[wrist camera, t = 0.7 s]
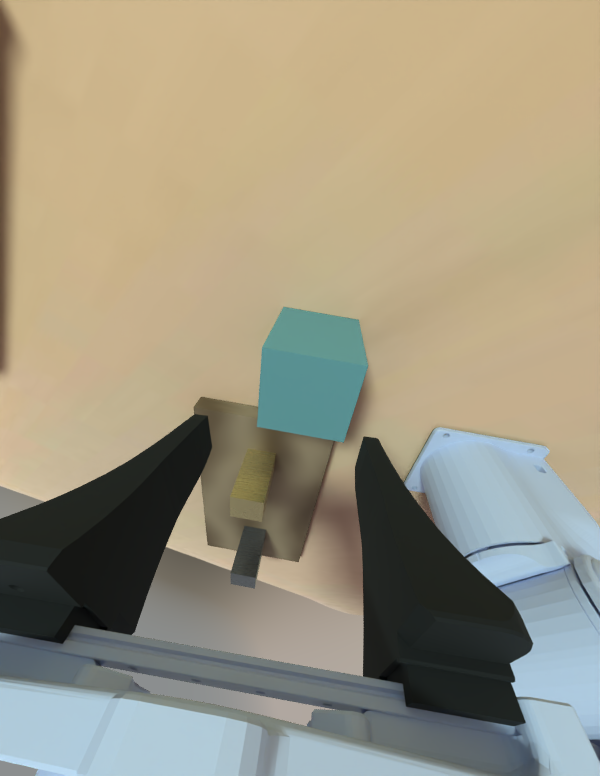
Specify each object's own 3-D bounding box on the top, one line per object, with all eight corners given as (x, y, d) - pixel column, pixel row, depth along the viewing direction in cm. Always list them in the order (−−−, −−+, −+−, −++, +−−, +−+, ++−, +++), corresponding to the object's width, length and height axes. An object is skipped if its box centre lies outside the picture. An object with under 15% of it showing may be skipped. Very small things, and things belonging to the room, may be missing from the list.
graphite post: (266, 529, 32) (255, 577, 28) (264, 540, 33) (254, 588, 29) (244, 525, 32) (230, 573, 28) (243, 537, 33) (230, 583, 29)
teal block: (358, 320, 19) (368, 366, 13) (341, 382, 22) (343, 442, 16) (283, 306, 19) (262, 347, 13) (277, 371, 22) (256, 426, 16)
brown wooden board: (336, 420, 24) (336, 432, 22) (299, 550, 36) (298, 562, 35) (201, 396, 24) (193, 407, 23) (212, 533, 37) (207, 545, 35)
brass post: (276, 453, 25) (263, 503, 20) (273, 472, 26) (261, 522, 22) (247, 448, 25) (230, 496, 20) (247, 467, 26) (230, 516, 22)
